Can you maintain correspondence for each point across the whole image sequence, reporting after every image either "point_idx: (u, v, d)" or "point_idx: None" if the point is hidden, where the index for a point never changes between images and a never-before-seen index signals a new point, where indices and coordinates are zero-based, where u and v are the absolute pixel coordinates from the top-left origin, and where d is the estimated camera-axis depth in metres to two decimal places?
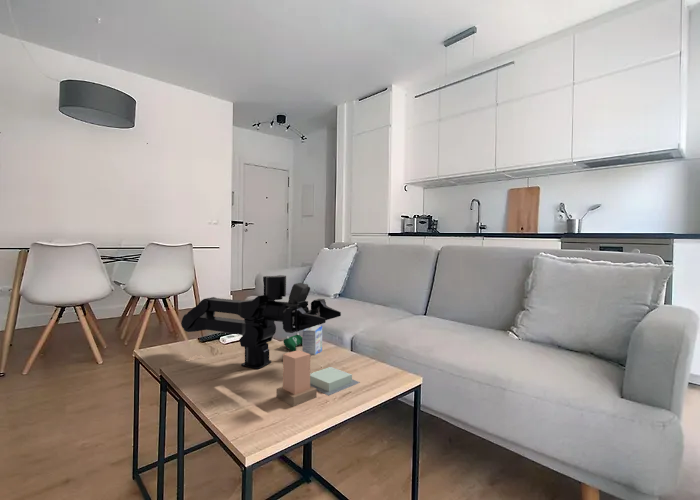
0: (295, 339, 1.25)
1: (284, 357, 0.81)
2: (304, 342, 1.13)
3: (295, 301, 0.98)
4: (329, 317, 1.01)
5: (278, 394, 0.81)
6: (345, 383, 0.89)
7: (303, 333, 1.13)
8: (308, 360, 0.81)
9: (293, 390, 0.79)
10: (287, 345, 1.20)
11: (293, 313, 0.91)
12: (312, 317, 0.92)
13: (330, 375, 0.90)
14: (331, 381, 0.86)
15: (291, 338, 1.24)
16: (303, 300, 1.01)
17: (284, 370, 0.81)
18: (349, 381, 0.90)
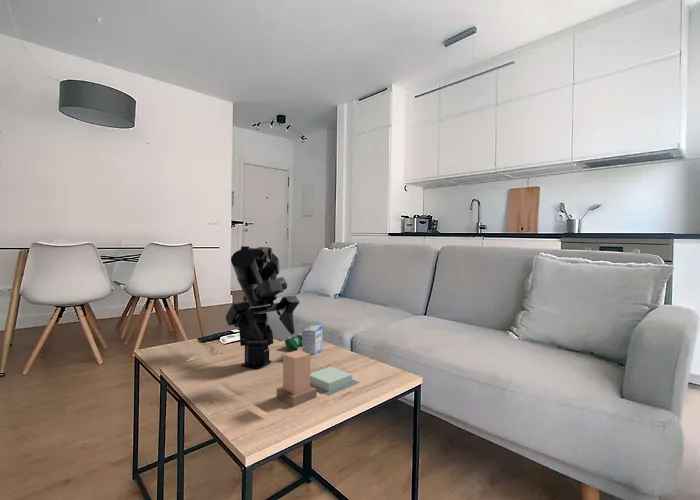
0: (297, 339, 1.24)
1: (284, 357, 0.81)
2: (304, 342, 1.13)
3: (259, 295, 0.88)
4: (285, 325, 0.93)
5: (278, 394, 0.81)
6: (345, 383, 0.89)
7: (303, 333, 1.13)
8: (308, 360, 0.81)
9: (293, 390, 0.79)
10: (289, 345, 1.20)
11: (240, 312, 0.84)
12: (253, 328, 0.84)
13: (330, 375, 0.90)
14: (331, 381, 0.86)
15: (293, 338, 1.23)
16: (271, 295, 0.91)
17: (284, 370, 0.81)
18: (349, 381, 0.90)
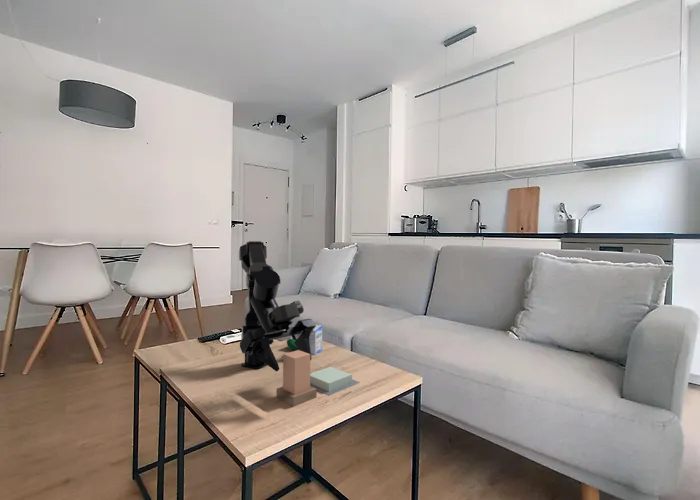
0: None
1: (284, 357, 0.81)
2: None
3: (274, 320, 0.83)
4: None
5: (278, 394, 0.81)
6: (345, 383, 0.89)
7: None
8: (308, 360, 0.81)
9: (293, 390, 0.79)
10: (290, 346, 1.20)
11: (255, 340, 0.79)
12: (269, 357, 0.79)
13: (330, 375, 0.90)
14: (331, 381, 0.86)
15: None
16: (287, 320, 0.86)
17: (284, 370, 0.81)
18: (349, 381, 0.90)
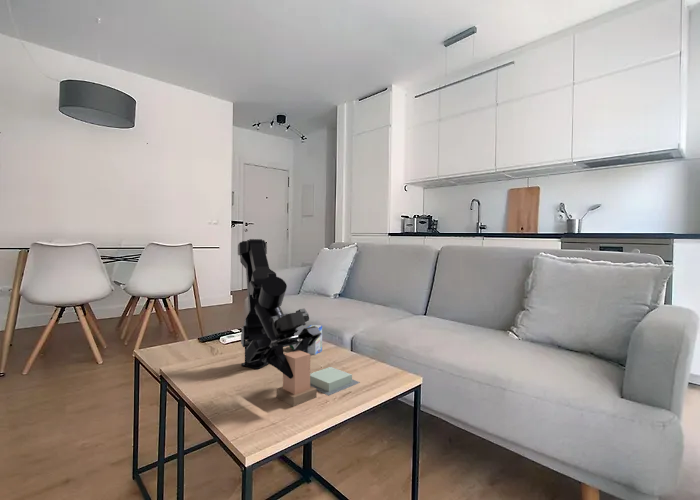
0: None
1: None
2: None
3: (279, 328, 0.82)
4: None
5: (278, 394, 0.81)
6: (345, 383, 0.89)
7: None
8: (308, 360, 0.81)
9: (293, 390, 0.79)
10: (292, 346, 1.19)
11: (269, 347, 0.79)
12: (283, 364, 0.80)
13: (330, 375, 0.90)
14: (331, 381, 0.86)
15: None
16: (292, 328, 0.85)
17: None
18: (349, 381, 0.90)
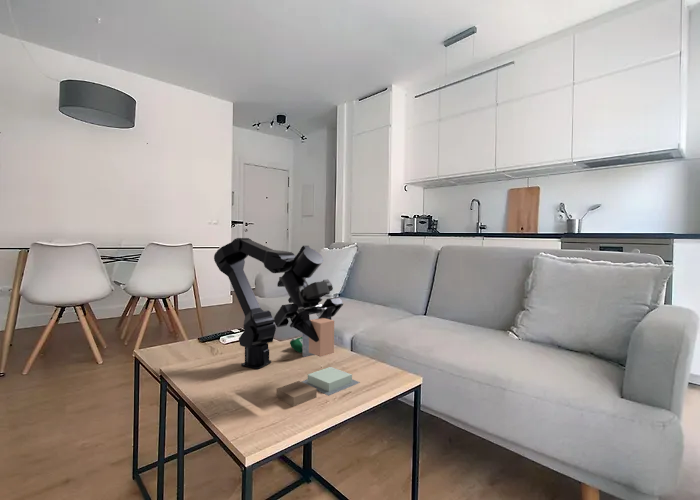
0: None
1: None
2: (304, 342, 1.13)
3: (305, 297, 0.88)
4: None
5: (278, 394, 0.81)
6: (345, 383, 0.89)
7: (303, 333, 1.13)
8: (332, 326, 0.88)
9: (319, 353, 0.85)
10: (294, 347, 1.19)
11: (296, 313, 0.86)
12: (309, 329, 0.86)
13: (330, 375, 0.90)
14: (331, 381, 0.86)
15: (298, 339, 1.22)
16: (317, 297, 0.91)
17: None
18: (349, 381, 0.90)
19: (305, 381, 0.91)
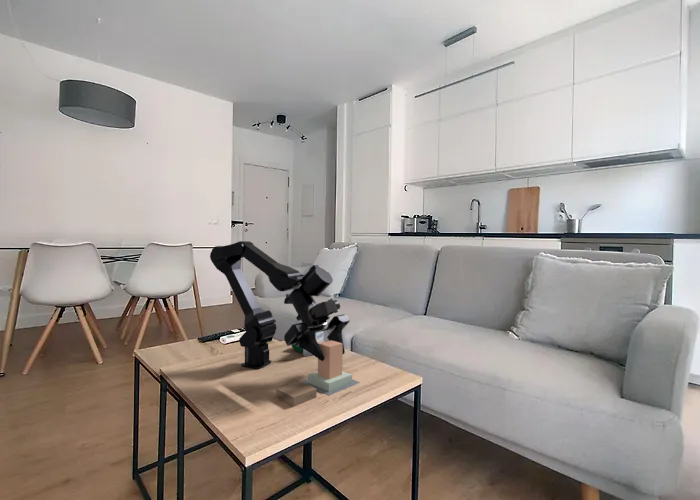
0: None
1: None
2: None
3: (314, 315, 0.91)
4: None
5: (278, 394, 0.81)
6: (345, 383, 0.89)
7: None
8: (340, 349, 0.90)
9: (328, 375, 0.88)
10: (295, 347, 1.18)
11: (302, 332, 0.88)
12: (315, 348, 0.88)
13: None
14: (331, 381, 0.86)
15: None
16: (325, 315, 0.93)
17: None
18: (349, 381, 0.90)
19: (305, 381, 0.91)
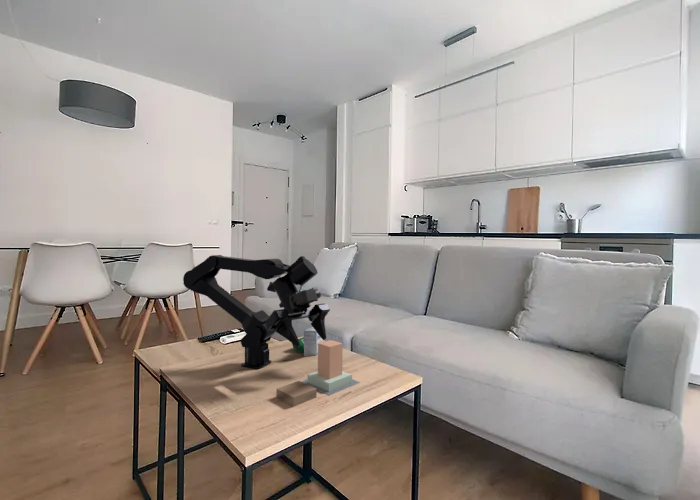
0: None
1: (318, 346, 0.90)
2: (305, 342, 1.13)
3: (295, 303, 0.96)
4: (317, 331, 1.01)
5: (278, 394, 0.81)
6: (345, 383, 0.89)
7: (304, 333, 1.13)
8: (340, 349, 0.90)
9: (328, 375, 0.88)
10: (296, 347, 1.18)
11: (279, 319, 0.92)
12: (291, 334, 0.92)
13: None
14: (331, 381, 0.86)
15: (300, 340, 1.22)
16: (306, 303, 0.99)
17: (319, 358, 0.90)
18: (349, 381, 0.90)
19: (305, 381, 0.91)
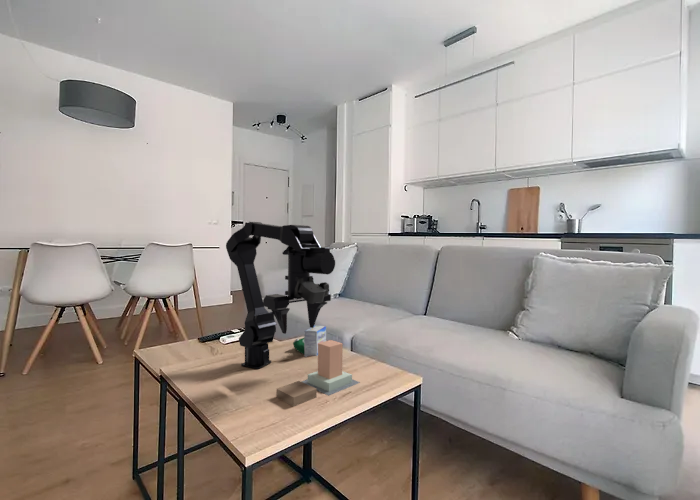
0: None
1: (318, 346, 0.90)
2: (306, 342, 1.13)
3: (300, 294, 0.91)
4: (309, 314, 1.00)
5: (278, 394, 0.81)
6: (345, 383, 0.89)
7: (305, 333, 1.13)
8: (340, 349, 0.90)
9: (328, 375, 0.88)
10: (297, 347, 1.18)
11: None
12: (282, 322, 0.91)
13: None
14: (331, 381, 0.86)
15: (301, 340, 1.21)
16: None
17: (319, 358, 0.90)
18: (349, 381, 0.90)
19: (305, 381, 0.91)
